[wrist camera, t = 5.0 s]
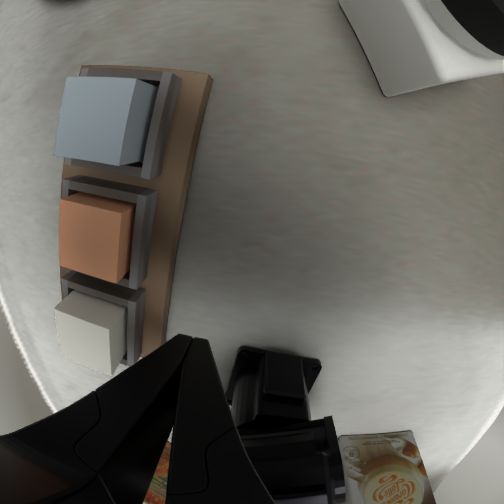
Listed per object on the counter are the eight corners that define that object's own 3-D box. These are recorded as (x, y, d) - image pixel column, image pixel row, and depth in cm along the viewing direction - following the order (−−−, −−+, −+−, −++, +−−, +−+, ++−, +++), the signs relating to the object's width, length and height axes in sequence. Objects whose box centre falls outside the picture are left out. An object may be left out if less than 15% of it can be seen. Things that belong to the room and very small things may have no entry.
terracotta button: (136, 262, 18) (116, 283, 16) (84, 247, 18) (59, 265, 15) (143, 201, 17) (121, 213, 14) (87, 189, 17) (60, 199, 14)
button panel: (164, 350, 23) (152, 378, 20) (73, 319, 22) (54, 341, 19) (213, 79, 16) (201, 66, 13) (93, 68, 15) (65, 60, 12)
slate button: (143, 160, 15) (119, 165, 12) (83, 150, 15) (53, 155, 12) (159, 88, 14) (136, 78, 11) (96, 83, 14) (67, 76, 11)
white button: (127, 349, 20) (111, 376, 17) (80, 332, 20) (61, 356, 17) (128, 303, 18) (109, 329, 15) (77, 286, 18) (53, 308, 15)
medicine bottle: (464, 79, 14) (599, 65, 3) (383, 99, 16) (524, 68, 4) (422, -10, 12) (521, -79, 1) (335, 0, 13) (403, -117, 2)
